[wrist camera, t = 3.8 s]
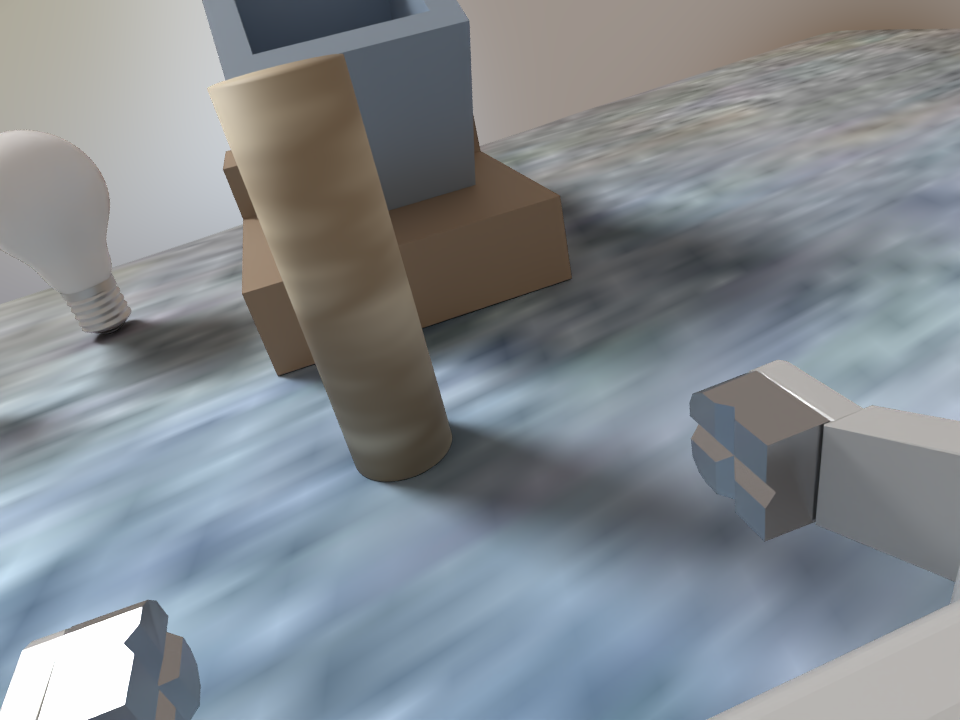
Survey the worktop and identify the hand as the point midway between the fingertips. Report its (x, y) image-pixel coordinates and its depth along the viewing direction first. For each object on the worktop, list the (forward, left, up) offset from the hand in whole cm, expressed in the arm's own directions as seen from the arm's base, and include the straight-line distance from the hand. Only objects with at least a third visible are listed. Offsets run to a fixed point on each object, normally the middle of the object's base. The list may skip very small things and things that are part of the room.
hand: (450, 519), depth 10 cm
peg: (0, +11, -6) cm, 13 cm away
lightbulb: (-13, +31, -7) cm, 34 cm away
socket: (+3, +27, -6) cm, 28 cm away
